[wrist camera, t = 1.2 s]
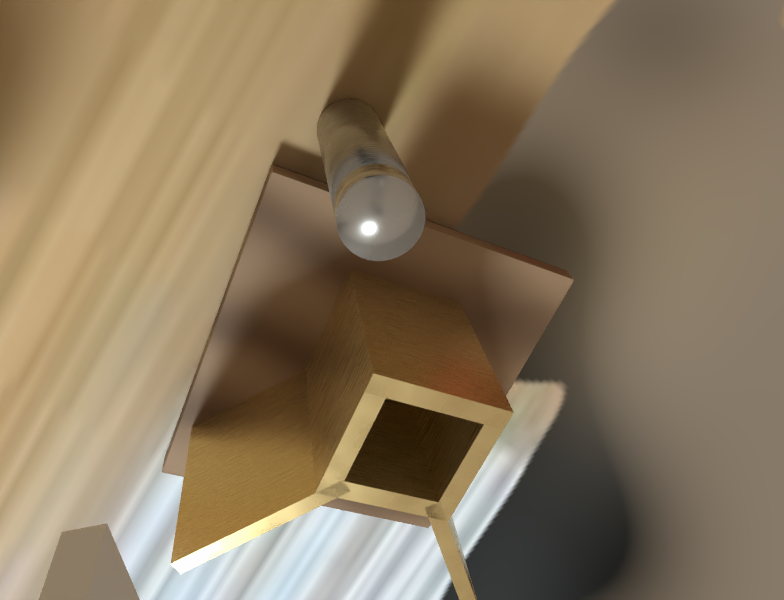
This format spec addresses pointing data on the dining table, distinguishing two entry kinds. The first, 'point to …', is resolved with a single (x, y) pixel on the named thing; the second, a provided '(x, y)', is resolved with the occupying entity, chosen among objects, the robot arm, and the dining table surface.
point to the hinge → (352, 428)
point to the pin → (368, 183)
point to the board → (320, 290)
